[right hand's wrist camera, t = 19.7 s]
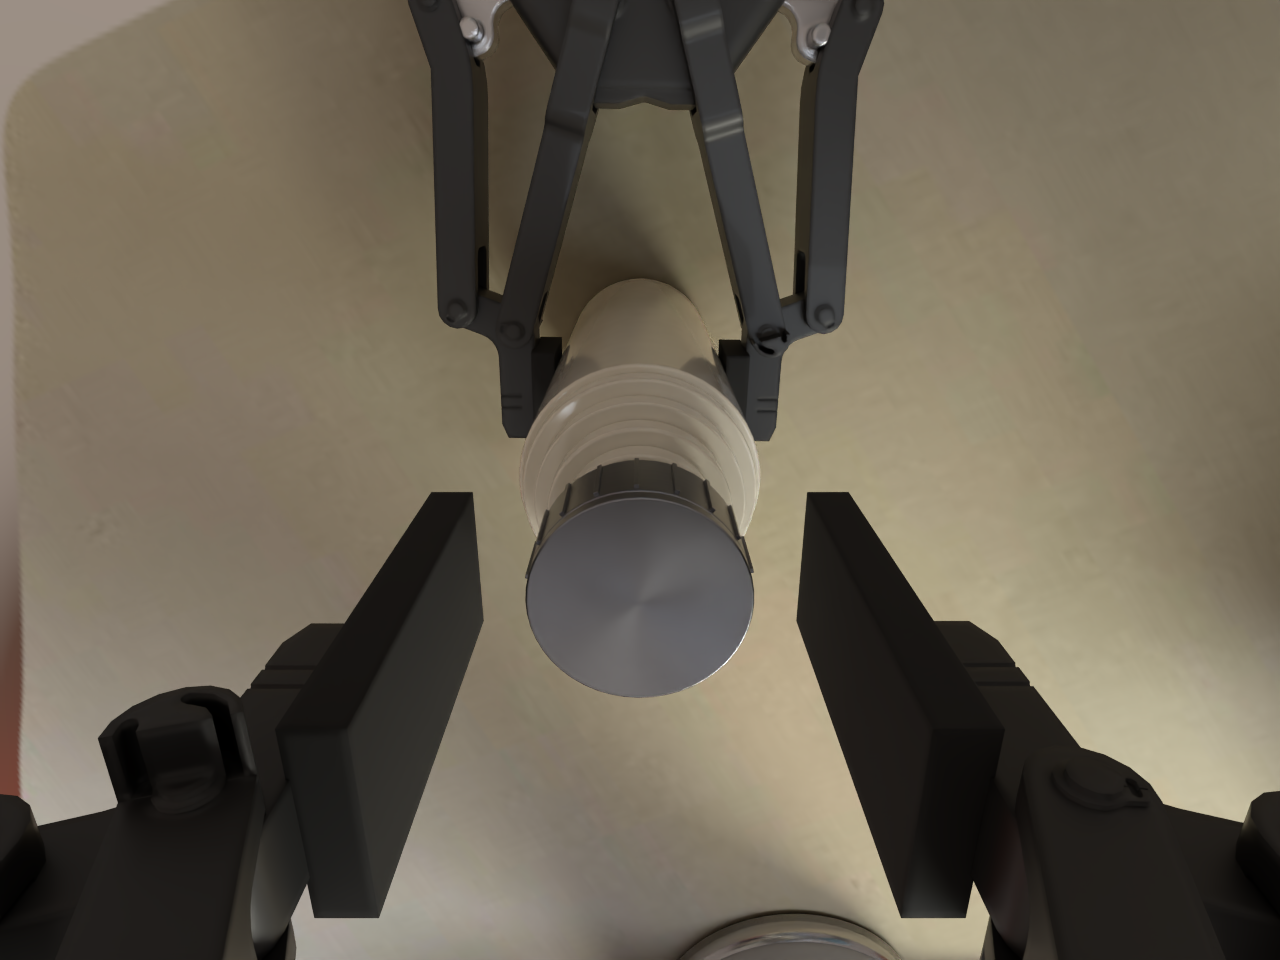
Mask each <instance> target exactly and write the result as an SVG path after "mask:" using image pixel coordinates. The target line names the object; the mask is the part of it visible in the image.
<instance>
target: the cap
mask: <svg viewBox="0 0 1280 960" xmlns="http://www.w3.org/2000/svg"><path fill="white" fill-rule="evenodd" d="M751 573H754V571H753V567H752V563H751V560H750V556H749V553H748V549H747V546H746V542H745V539H744V536H741V535H740V532H739V528H738V525H737V521H736V517H735V514H734V510H733V507H732V506H731V505H729V506H728V505H727V504H726V502H725V501H724V499H723V498H722V497H721V496H720V495H719V493H718V492H717V491H716V490H715V489H714V488H713V487H711V486H710V482H709V481H708V480H707V479H705V481H704V480H703V479H701V478H700V477H698V476H697V475H695V474H693V473H691V472H689V471H687V470H685V469H683V468H680V467H677V464H676V463H672V464H668V463H663V462H658V461H650V460H639V458H634V460H628V461H622V462H616V463H612V464H608V465H605V466H602V465H598V466H597V469H595V470H593V471H590V472H588V473H587V474H585V475H583V476H582V477H580V478H578V479H577V480H576V481H574V482H573V483H572V484H570V483H568V484H566V487H565V490H564V491H563V492H562V493H561V494H560V495H559V496H558V498H557V499H556V500H555V502H554V503H553V505H552V506H551V507H550V509H549V510H547V509H546V510H545V512H544V515H543V519H542V522H541V526H540V529H539V533H538V536H537V540H536V541H535V544H534V547H533V551H532V554H531V558H530V561H529V565H528V568H527V572H526V576H525V578H527V585H526V609H527V615H528V619H529V623H530V626H531V629H532V631H533V633H534V636H535V638H536V640H537V641H538V643H539V645H540V646H541V648H542V650H543V651H544V652H545V653H546V655H547V656H548V657H549V658H550V660H551V661H552V662H553V663H554V664H555V665H556V666H557V667H559V668H560V669H561V670H562V671H563V672H565V673H566V674H567V675H569V676H570V677H571V678H573V679H575V680H576V681H578V682H580V683H582V684H583V685H586V686H588V687H590V688H593V689H595V690H598V691H601V692H605V693H608V694H612V695H618V696H623V697H637V698H640V697H655V696H662V695H668V694H671V693H675V692H679V691H682V690H684V689H687V688H689V687H692V686H694V685H696V684H698V683H700V682H702V681H703V680H705V679H707V678H708V677H710V676H711V675H712V674H714V673H715V672H717V671H718V670H719V669H720V668H721V667H722V666H723V665H724V664H726V663H727V661H728V660H729V659H730V658H731V657H732V656H733V654H734V653H735V652H736V650H737V649H738V647H739V646H740V644H741V643H742V641H743V639H744V637H745V635H746V633H747V631H748V628H749V625H750V622H751V618H752V613H753V607H754V587H753V580H752V576H751Z"/></svg>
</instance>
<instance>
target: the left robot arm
mask: <svg viewBox="0 0 1280 960" xmlns="http://www.w3.org/2000/svg"><path fill="white" fill-rule="evenodd" d="M408 3H409V7H410V10H411V13H412V16H413V18H414V21H415V24H416V27H417V30H418V33H419V36H420V39H421V41H422V44H423V47H424V50H425V53H426V56H427V59H428V62H429V65H430V67H431V88H432V123H433V157H434V191H435V226H436V260H437V294H438V311H439V316H440V317H441V319H442V320H443V322H444V323H445V324H447V325H448V326H450V327H453V328H457V329H458V328H465V329H468V330H471V331H473V332H476V333H479V334H482V335H484V336H486V337H487V338H489V339H490V340H491V341H492V342H493V343H494V345H495V346H496V348H497V350H498V354H499V366H500V386H501V406H502V424H503V426H504V428H505V430H506V433H507V435H508V437H509V438H527V435H528V433H529V431H530V428H531V426H532V424H533V421H534V419H535V417H536V415H537V412H538V410H539V408H540V405H541V403H542V401H543V398H544V396H545V394H546V392H547V389H548V387H549V385H550V382H551V380H552V378H553V376H554V373H555V371H556V369H557V366H558V364H559V362H560V359H561V357H562V337H540V334H539V326H540V325H541V323H542V321H543V320H542V316H543V312H544V308H545V305H546V301H547V297H548V293H549V290H550V286H551V282H552V278H553V275H554V271H555V267H556V263H557V260H558V256H559V252H560V248H561V245H562V241H563V237H564V233H565V230H566V226H567V222H568V218H569V215H570V211H571V207H572V203H573V200H574V196H575V192H576V188H577V185H578V181H579V177H580V173H581V170H582V166H583V162H584V158H585V155H586V151H587V147H588V144H589V141H590V138H591V135H592V132H593V128H594V125H595V121H596V117H597V114H598V110H599V108H600V109H621V108H624V107H628V106H631V105H635V104H639V103H642V102H646V103H649V104H653V105H656V106H659V107H662V108H665V109H668V110H689V111H690V115H691V120H692V124H693V128H694V132H695V136H696V139H697V142H698V145H699V149H700V153H701V157H702V162H703V166H704V170H705V174H706V179H707V183H708V187H709V192H710V196H711V200H712V204H713V209H714V213H715V217H716V222H717V226H718V230H719V234H720V239H721V243H722V247H723V252H724V256H725V260H726V264H727V269H728V273H729V277H730V282H731V286H732V290H733V294H734V299H735V303H736V307H737V312H738V316H739V320H740V324H741V328H742V336H741V341H740V340H719V353H718V357H719V360H720V362H721V364H722V367H723V369H724V371H725V373H726V376H727V378H728V380H729V383H730V385H731V387H732V390H733V392H734V394H735V396H736V399H737V401H738V403H739V406H740V408H741V410H742V413H743V415H744V417H745V419H746V422H747V424H748V426H749V429H750V431H751V433H752V436H753V438H754V441H769V440H770V438H771V436H772V434H773V432H774V430H775V428H776V420H777V407H778V395H779V383H780V371H781V360H782V356H783V353H784V352H785V351H786V350H787V349H788V346H789V345H790V344H791V343H793V342H794V341H796V340H798V339H801V338H804V337H807V336H810V335H813V334H816V333H821V334H826V333H830V332H832V331H834V330H835V329H837V328H838V327H839V325H840V324H841V322H842V319H843V315H844V300H845V284H846V267H847V251H848V234H849V218H850V201H851V185H852V168H853V152H854V135H855V118H856V102H857V85H858V75H859V72H860V70H861V67H862V65H863V62H864V59H865V57H866V54H867V51H868V49H869V46H870V44H871V41H872V38H873V36H874V33H875V30H876V28H877V25H878V23H879V20H880V17H881V15H882V11H883V6H884V0H408ZM511 7H514V8H515V9H516V11H517V12H518V14H519V15H520V17H521V18H522V20H523V21H524V23H525V24H526V26H527V27H528V29H529V31H530V32H531V34H532V35H533V37H534V38H535V40H536V41H537V43H538V44H539V46H540V47H541V49H542V50H543V52H544V53H545V55H546V56H547V58H548V59H549V61H550V62H551V64H552V65H553V67H554V68H555V70H556V73H555V77H554V81H553V85H552V89H551V93H550V97H549V101H548V105H547V110H546V116H545V125H544V131H543V135H542V139H541V143H540V147H539V151H538V155H537V159H536V163H535V167H534V171H533V175H532V180H531V184H530V188H529V192H528V196H527V200H526V204H525V208H524V212H523V216H522V220H521V224H520V228H519V232H518V237H517V241H516V245H515V249H514V253H513V257H512V261H511V265H510V269H509V273H508V277H507V281H506V285H505V289H504V294H503V295H501V294H498V293H495V292H493V291H490V290H489V204H488V91H487V79H486V73H485V67H484V63H483V60H484V59H487V58H489V57H491V56H492V55H493V54H494V53H495V51H496V49H497V47H498V44H499V31H498V26H499V20H500V18H501V16H502V14H503V13H504V12H505V11H506V10H508V9H509V8H511ZM777 12H780V13H782V14H783V15H785V17H786V18H787V19H788V20H789V22H790V24H791V28H792V39H791V50H792V53H793V56H794V58H795V59H796V60H797V61H798V62H800V63H801V64H803V65H806V68H805V72H804V77H803V82H802V87H801V98H800V117H799V144H798V172H797V199H796V226H795V254H794V281H793V295H791V296H788V297H785V298H782V299H779V294H778V289H777V285H776V280H775V275H774V271H773V266H772V261H771V256H770V252H769V247H768V242H767V238H766V233H765V228H764V224H763V219H762V214H761V209H760V205H759V200H758V195H757V191H756V186H755V181H754V176H753V172H752V167H751V162H750V158H749V153H748V148H747V144H746V139H745V134H744V127H743V115H742V109H741V104H740V99H739V95H738V90H737V85H736V81H735V76H734V73H735V71H736V70H737V68H738V67H739V66H740V64H741V63H742V61H743V60H744V58H745V57H746V56H747V54H748V53H749V51H750V50H751V49H752V47H753V46H754V44H755V43H756V41H757V40H758V39H759V37H760V36H761V34H762V33H763V32H764V30H765V29H766V27H767V26H768V24H769V23H770V22H771V20H772V19H773V17H774V16H775V15H776V13H777Z"/></svg>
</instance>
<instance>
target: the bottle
mask: <svg viewBox="0 0 1280 960" xmlns="http://www.w3.org/2000/svg"><path fill="white" fill-rule="evenodd" d="M634 458H639V460H650V461H658V462H663V463H668V464H672V463H676V464H677V467H680V468H683V469H685V470H687V471H689V472H691V473H693V474H695V475H697V476H698V477H700V478H701V479H703V480H704V481H705V479H707V480H708V481H709V482H710V486H711V487H713V488H714V489H715V490H716V491H717V492H718V493H719V495H720V496H721V497H722V498H723V499H724V501H725V502H726V504H727V505H728V506H729V505H731V506H732V507H733V510H734V514H735V517H736V521H737V525H738V528H739V532H740V535H741V536H744V535H745V534H746V532H747V529H748V527H749V525H750V522H751V520H752V516H753V513H754V510H755V507H756V503H757V500H758V496H759V488H760V463H759V456H758V451H757V448H756V444H755V441H754V438H753V436H752V433H751V431H750V429H749V426H748V424H747V422H746V419H745V417H744V415H743V413H742V410H741V408H740V406H739V403H738V401H737V399H736V396H735V394H734V392H733V390H732V387H731V385H730V383H729V380H728V378H727V376H726V373H725V371H724V369H723V367H722V364H721V362H720V360H719V357H718V355H717V353H716V350H715V348H714V346H713V344H712V341H711V339H710V337H709V334H708V332H707V330H706V327H705V325H704V323H703V321H702V318H701V316H700V314H699V312H698V311H697V309H696V308H695V306H694V305H693V304H692V302H691V301H690V300H689V299H688V298H687V297H686V296H685V295H684V294H682V293H681V292H680V291H678V290H677V289H675V288H674V287H672V286H670V285H668V284H666V283H663V282H660V281H656V280H651V279H641V278H638V279H628V280H624V281H620V282H617V283H614V284H612V285H610V286H608V287H606V288H604V289H603V290H602V291H600V292H599V293H597V294H596V295H595V296H594V297H593V298H592V299H591V300H590V301H589V302H588V304H587V305H586V306H585V307H584V309H583V311H582V312H581V314H580V316H579V318H578V320H577V323H576V325H575V327H574V330H573V332H572V334H571V336H570V339H569V341H568V343H567V346H566V348H565V350H564V353H563V355H562V357H561V359H560V362H559V364H558V366H557V369H556V371H555V373H554V376H553V378H552V380H551V382H550V385H549V387H548V389H547V392H546V394H545V396H544V398H543V401H542V403H541V405H540V408H539V410H538V412H537V415H536V417H535V419H534V421H533V424H532V426H531V428H530V431H529V433H528V435H527V438H526V440H525V444H524V447H523V451H522V455H521V461H520V490H521V497H522V501H523V504H524V508H525V511H526V514H527V517H528V520H529V523H530V525H531V527H532V530H533V532H534V534H535V536H536V537H537V536H538V533H539V529H540V526H541V522H542V519H543V515H544V512H545V510H546V509H547V510H549V509H550V507H551V506H552V505H553V503H554V502H555V500H556V499H557V498H558V496H559V495H560V494H561V493H562V492H563V491H564V490H565V487H566V484H568V483H570V484H572V483H573V482H574V481H576V480H577V479H578V478H580V477H582V476H583V475H585V474H587V473H588V472H590V471H593V470H595V469H597V466H598V465H602V466H605V465H608V464H612V463H616V462H622V461H628V460H634Z"/></svg>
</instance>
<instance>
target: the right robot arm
mask: <svg viewBox="0 0 1280 960" xmlns="http://www.w3.org/2000/svg"><path fill="white" fill-rule="evenodd" d="M483 621H484V620H483V608H482V596H481V584H480V573H479V561H478V549H477V537H476V525H475V514H474V502H473V492H431V494H430V495H429V497H428V498H427V500H426V501H425V503H424V504H423V506H422V507H421V509H420V510H419V512H418V513H417V515H416V516H415V518H414V519H413V521H412V522H411V524H410V525H409V527H408V528H407V530H406V531H405V533H404V534H403V536H402V537H401V539H400V541H399V542H398V544H397V545H396V547H395V548H394V550H393V551H392V553H391V554H390V556H389V557H388V559H387V560H386V562H385V563H384V565H383V566H382V568H381V569H380V571H379V572H378V574H377V575H376V577H375V578H374V580H373V581H372V583H371V584H370V586H369V587H368V589H367V590H366V592H365V593H364V595H363V596H362V598H361V599H360V601H359V602H358V604H357V606H356V607H355V609H354V610H353V612H352V613H351V615H350V616H349V618H348V619H347V621H346V622H345V624H310V625H308V626H307V627H305V628H304V629H302V630H301V631H299V632H298V633H296V634H295V635H294V636H292V637H291V638H289V639H288V640H286V641H285V642H283V643H282V644H281V646H280V647H279V648H278V650H277V651H276V652H275V653H274V655H273V656H272V657H271V659H270V660H269V661H268V663H267V664H266V665H265V670H261V672H260V673H259V674H258V676H257V677H256V678H255V679H254V681H253V682H252V683H251V688H250V689H247V690H246V691H245V693H244V694H243V695H242V696H241V698H240V697H239V696H237V695H236V694H235V693H234V692H232V691H231V690H229V689H225V688H220V687H215V686H198V687H185V688H181V689H177V690H174V691H170V692H166V693H162V694H158V695H156V696H154V697H152V698H150V699H147V700H145V701H143V702H141V703H139V704H136V705H134V706H132V707H131V708H129V709H128V710H127V711H125V712H124V713H122V714H121V715H120V716H118V717H117V718H115V719H114V720H113V721H111V722H110V724H109V725H108V726H107V727H106V729H105V730H104V731H103V732H102V734H101V735H100V736H99V737H98V741H99V744H100V747H101V750H102V753H103V756H104V760H105V763H106V766H107V769H108V772H109V776H110V779H111V782H112V785H113V788H114V792H115V795H116V798H117V801H118V804H117V807H116V808H113V809H109V810H106V811H102V812H98V813H94V814H89V815H85V816H80V817H76V818H72V819H67V820H63V821H58V822H54V823H49V824H45V825H40V826H37V824H36V821H35V818H34V815H33V813H32V810H31V807H30V805H29V804H28V803H26V802H25V801H23V800H22V799H21V798H19V797H18V796H12V795H3V794H0V960H295V956H296V943H295V937H294V931H293V926H292V922H291V916H292V914H293V912H294V910H295V908H296V906H297V904H298V902H299V899H300V897H301V895H302V893H303V891H304V889H305V887H306V885H308V890H309V894H310V899H311V904H312V909H313V914H314V918H379V916H380V913H381V910H382V908H383V905H384V902H385V899H386V896H387V893H388V891H389V888H390V885H391V882H392V879H393V876H394V874H395V871H396V868H397V865H398V862H399V859H400V857H401V854H402V851H403V848H404V845H405V842H406V840H407V837H408V834H409V831H410V828H411V825H412V823H413V820H414V817H415V814H416V811H417V808H418V805H419V803H420V800H421V797H422V794H423V791H424V788H425V786H426V783H427V780H428V777H429V774H430V771H431V769H432V766H433V763H434V760H435V757H436V754H437V752H438V749H439V746H440V743H441V740H442V737H443V735H444V732H445V729H446V726H447V723H448V720H449V717H450V715H451V712H452V709H453V706H454V703H455V700H456V698H457V695H458V692H459V689H460V686H461V683H462V681H463V678H464V675H465V672H466V669H467V666H468V664H469V661H470V658H471V655H472V652H473V649H474V647H475V644H476V641H477V638H478V635H479V632H480V630H481V627H482V624H483ZM796 621H797V624H798V627H799V630H800V632H801V635H802V638H803V641H804V644H805V647H806V649H807V652H808V655H809V658H810V661H811V664H812V666H813V669H814V672H815V675H816V678H817V681H818V683H819V686H820V689H821V692H822V695H823V698H824V700H825V703H826V706H827V709H828V712H829V715H830V717H831V720H832V723H833V726H834V729H835V732H836V735H837V737H838V740H839V743H840V746H841V749H842V752H843V754H844V757H845V760H846V763H847V766H848V769H849V771H850V774H851V777H852V780H853V783H854V786H855V788H856V791H857V794H858V797H859V800H860V803H861V805H862V808H863V811H864V814H865V817H866V820H867V823H868V825H869V828H870V831H871V834H872V837H873V840H874V842H875V845H876V848H877V851H878V854H879V857H880V859H881V862H882V865H883V868H884V871H885V874H886V876H887V879H888V882H889V885H890V888H891V891H892V893H893V896H894V899H895V902H896V905H897V908H898V910H899V913H900V916H901V918H966V914H967V909H968V904H969V899H970V894H971V890H972V885H973V881H974V883H975V885H976V887H977V889H978V891H979V893H980V896H981V898H982V900H983V902H984V904H985V906H986V908H987V910H988V912H989V915H990V917H989V922H988V926H987V931H986V935H985V939H984V944H983V948H982V953H981V957H980V960H1280V791H1276V792H1266V793H1263V794H1261V795H1260V796H1259V797H1257V798H1256V799H1255V800H1253V801H1252V802H1251V804H1250V807H1249V810H1248V813H1247V815H1246V818H1245V821H1244V823H1241V822H1237V821H1232V820H1228V819H1223V818H1219V817H1214V816H1210V815H1205V814H1201V813H1196V812H1192V811H1188V810H1183V809H1179V808H1175V807H1172V806H1169V805H1165V804H1163V803H1162V801H1161V799H1160V798H1159V796H1158V795H1157V794H1156V792H1155V791H1154V789H1153V788H1152V786H1151V785H1150V784H1149V783H1148V782H1147V781H1146V780H1144V779H1143V778H1142V777H1141V776H1140V775H1138V774H1137V773H1136V772H1135V771H1133V770H1132V769H1131V768H1130V767H1128V766H1126V765H1124V764H1122V763H1120V762H1118V761H1116V760H1114V759H1112V758H1110V757H1108V756H1106V755H1104V754H1101V753H1097V752H1094V751H1090V750H1087V749H1084V748H1081V747H1080V746H1079V745H1078V744H1077V742H1076V741H1075V740H1074V738H1073V737H1072V736H1071V734H1070V733H1069V732H1068V731H1067V729H1066V728H1065V727H1064V725H1063V724H1062V723H1061V721H1060V720H1059V719H1058V718H1057V716H1056V715H1055V714H1054V712H1053V711H1052V710H1051V709H1050V707H1049V706H1048V705H1047V703H1046V702H1045V701H1044V699H1043V698H1042V697H1041V696H1040V694H1039V693H1038V692H1037V690H1036V689H1035V688H1034V687H1033V686H1030V681H1029V680H1028V679H1027V677H1026V676H1025V675H1024V674H1023V672H1022V671H1021V670H1020V668H1019V667H1015V662H1014V661H1013V659H1012V658H1011V657H1010V655H1009V654H1008V653H1007V652H1006V650H1005V649H1004V648H1003V646H1002V645H1001V644H1000V642H999V641H998V640H997V639H995V638H994V637H992V636H991V635H989V634H988V633H986V632H985V631H983V630H982V629H980V628H979V627H977V626H976V625H974V624H973V623H971V622H970V621H933V619H932V618H931V616H930V615H929V613H928V612H927V610H926V609H925V607H924V606H923V604H922V602H921V601H920V599H919V598H918V596H917V595H916V593H915V592H914V590H913V589H912V587H911V586H910V584H909V583H908V581H907V580H906V578H905V577H904V575H903V574H902V572H901V571H900V569H899V568H898V566H897V565H896V563H895V562H894V560H893V559H892V557H891V556H890V554H889V553H888V551H887V550H886V548H885V547H884V545H883V544H882V542H881V541H880V539H879V537H878V536H877V534H876V533H875V531H874V530H873V528H872V527H871V525H870V524H869V522H868V521H867V519H866V518H865V516H864V515H863V513H862V512H861V510H860V509H859V507H858V506H857V504H856V503H855V501H854V500H853V498H852V497H851V495H850V494H849V492H807V502H806V514H805V525H804V537H803V549H802V561H801V573H800V584H799V596H798V608H797V620H796ZM679 960H901V958H900V957H899V956H898V954H897V953H896V952H895V951H894V950H893V949H892V948H891V947H890V946H889V945H888V944H887V943H886V942H884V941H883V940H882V939H880V938H879V937H878V936H876V935H875V934H873V933H871V932H869V931H868V930H866V929H864V928H861V927H859V926H857V925H855V924H852V923H849V922H846V921H843V920H839V919H835V918H831V917H825V916H819V915H810V914H779V915H771V916H764V917H759V918H753V919H750V920H746V921H742V922H739V923H736V924H733V925H731V926H728V927H726V928H723V929H721V930H719V931H717V932H715V933H713V934H711V935H709V936H708V937H706V938H704V939H703V940H701V941H700V942H698V943H697V944H696V945H694V946H693V947H692V948H691V949H689V950H688V951H687V952H686V953H685V954H684V955H683V956H682V957H681V958H680V959H679Z"/></svg>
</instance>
